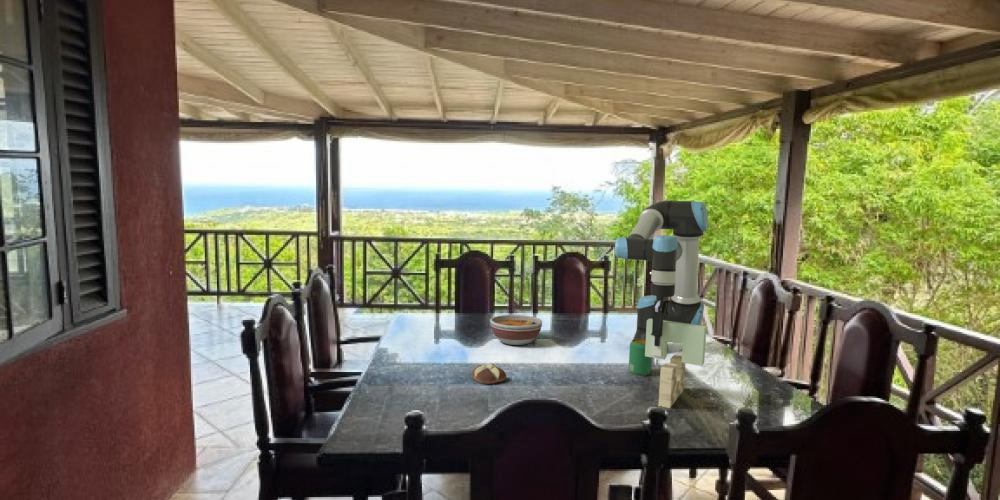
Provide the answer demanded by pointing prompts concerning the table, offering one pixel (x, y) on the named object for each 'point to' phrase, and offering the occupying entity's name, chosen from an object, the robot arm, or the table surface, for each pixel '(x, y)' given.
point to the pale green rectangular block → (679, 341)
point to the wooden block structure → (671, 381)
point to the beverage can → (639, 358)
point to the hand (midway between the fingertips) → (658, 353)
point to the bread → (488, 374)
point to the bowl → (515, 328)
